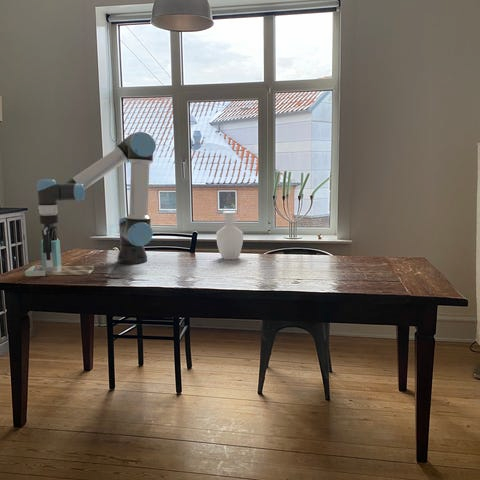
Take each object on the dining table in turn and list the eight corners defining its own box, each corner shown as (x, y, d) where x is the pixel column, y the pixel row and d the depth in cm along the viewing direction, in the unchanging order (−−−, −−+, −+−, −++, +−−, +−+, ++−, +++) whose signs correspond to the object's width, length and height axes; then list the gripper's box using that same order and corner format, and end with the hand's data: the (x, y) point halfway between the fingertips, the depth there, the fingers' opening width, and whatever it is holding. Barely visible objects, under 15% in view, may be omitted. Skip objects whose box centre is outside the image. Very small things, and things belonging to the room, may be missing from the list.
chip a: (44, 273, 203) (44, 268, 203) (42, 275, 200) (42, 269, 199) (35, 273, 203) (34, 268, 202) (32, 275, 199) (32, 270, 198)
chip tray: (53, 271, 210) (53, 265, 209) (45, 277, 198) (44, 270, 197) (34, 271, 209) (34, 265, 208) (25, 277, 197) (24, 271, 197)
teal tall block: (61, 270, 207) (59, 240, 205) (57, 272, 201) (55, 242, 199) (46, 270, 206) (44, 240, 204) (42, 273, 200) (40, 242, 198)
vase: (248, 257, 244) (248, 211, 240) (233, 261, 232) (233, 213, 228) (226, 254, 251) (226, 210, 247) (211, 259, 239) (210, 212, 236)
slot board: (94, 270, 211) (93, 265, 211) (88, 276, 200) (88, 270, 200) (54, 271, 209) (54, 266, 209) (46, 277, 198) (46, 271, 198)
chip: (47, 271, 207) (47, 266, 207) (45, 273, 204) (44, 267, 203) (38, 271, 207) (38, 266, 207) (35, 273, 203) (35, 268, 203)
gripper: (46, 212, 209) (50, 261, 212) (32, 216, 190) (36, 270, 194) (63, 212, 210) (66, 261, 213) (50, 216, 191) (54, 269, 194)
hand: (52, 265), depth 203 cm, fingers closed on teal tall block, 6 cm apart
